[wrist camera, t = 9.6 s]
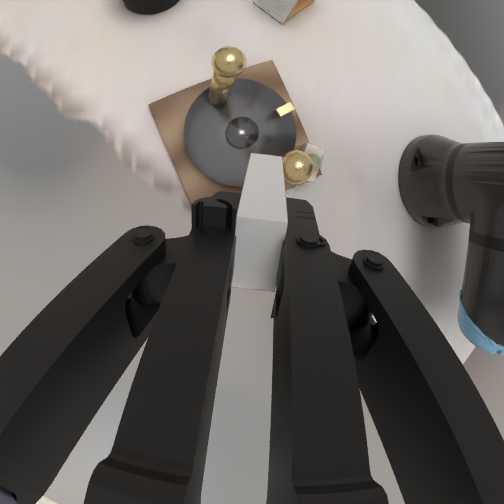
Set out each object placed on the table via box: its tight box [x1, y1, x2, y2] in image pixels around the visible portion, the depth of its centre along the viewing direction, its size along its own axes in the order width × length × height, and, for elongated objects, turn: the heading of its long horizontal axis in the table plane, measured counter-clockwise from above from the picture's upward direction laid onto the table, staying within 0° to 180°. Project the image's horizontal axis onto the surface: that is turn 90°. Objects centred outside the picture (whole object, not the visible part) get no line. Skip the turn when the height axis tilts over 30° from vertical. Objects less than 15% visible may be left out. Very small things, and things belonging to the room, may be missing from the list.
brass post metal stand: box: [184, 46, 313, 187], centre depth 27 cm, size 13×13×14 cm
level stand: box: [149, 60, 325, 204], centre depth 33 cm, size 17×17×6 cm
